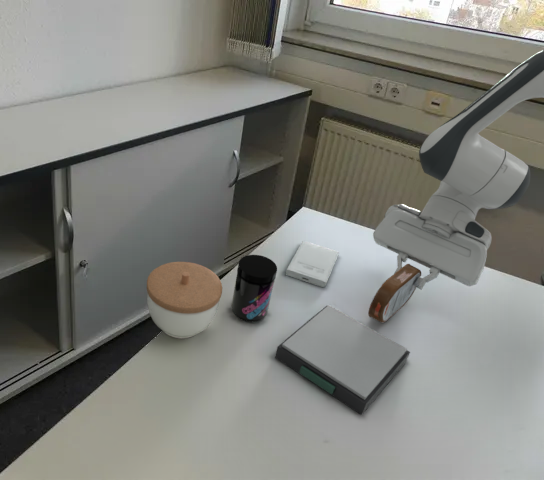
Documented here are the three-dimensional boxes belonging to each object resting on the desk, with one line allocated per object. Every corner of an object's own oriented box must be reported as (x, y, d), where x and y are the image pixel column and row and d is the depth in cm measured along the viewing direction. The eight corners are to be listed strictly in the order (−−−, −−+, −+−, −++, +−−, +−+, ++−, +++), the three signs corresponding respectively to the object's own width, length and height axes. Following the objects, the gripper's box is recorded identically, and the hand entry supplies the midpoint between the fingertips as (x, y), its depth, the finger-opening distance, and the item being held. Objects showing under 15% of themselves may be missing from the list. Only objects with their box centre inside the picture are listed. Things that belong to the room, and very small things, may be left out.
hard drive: (337, 257, 117) (324, 288, 107) (300, 246, 119) (285, 274, 110) (339, 251, 116) (326, 281, 106) (302, 240, 118) (286, 268, 109)
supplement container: (231, 322, 96) (240, 276, 90) (229, 298, 102) (237, 253, 96) (269, 325, 96) (280, 279, 91) (264, 301, 102) (274, 256, 96)
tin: (401, 291, 107) (411, 255, 103) (416, 298, 106) (428, 262, 101) (363, 324, 98) (372, 286, 94) (379, 332, 96) (389, 294, 92)
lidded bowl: (161, 358, 87) (165, 305, 81) (133, 309, 97) (136, 259, 91) (229, 339, 92) (238, 289, 86) (196, 295, 102) (202, 246, 96)
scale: (405, 362, 92) (411, 349, 90) (360, 416, 81) (365, 402, 79) (324, 315, 100) (327, 302, 98) (273, 358, 90) (276, 345, 88)
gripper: (391, 194, 106) (355, 253, 105) (500, 237, 95) (460, 304, 94) (394, 206, 111) (360, 263, 110) (498, 249, 100) (460, 312, 99)
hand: (407, 282), depth 102 cm, fingers closed on tin, 3 cm apart
